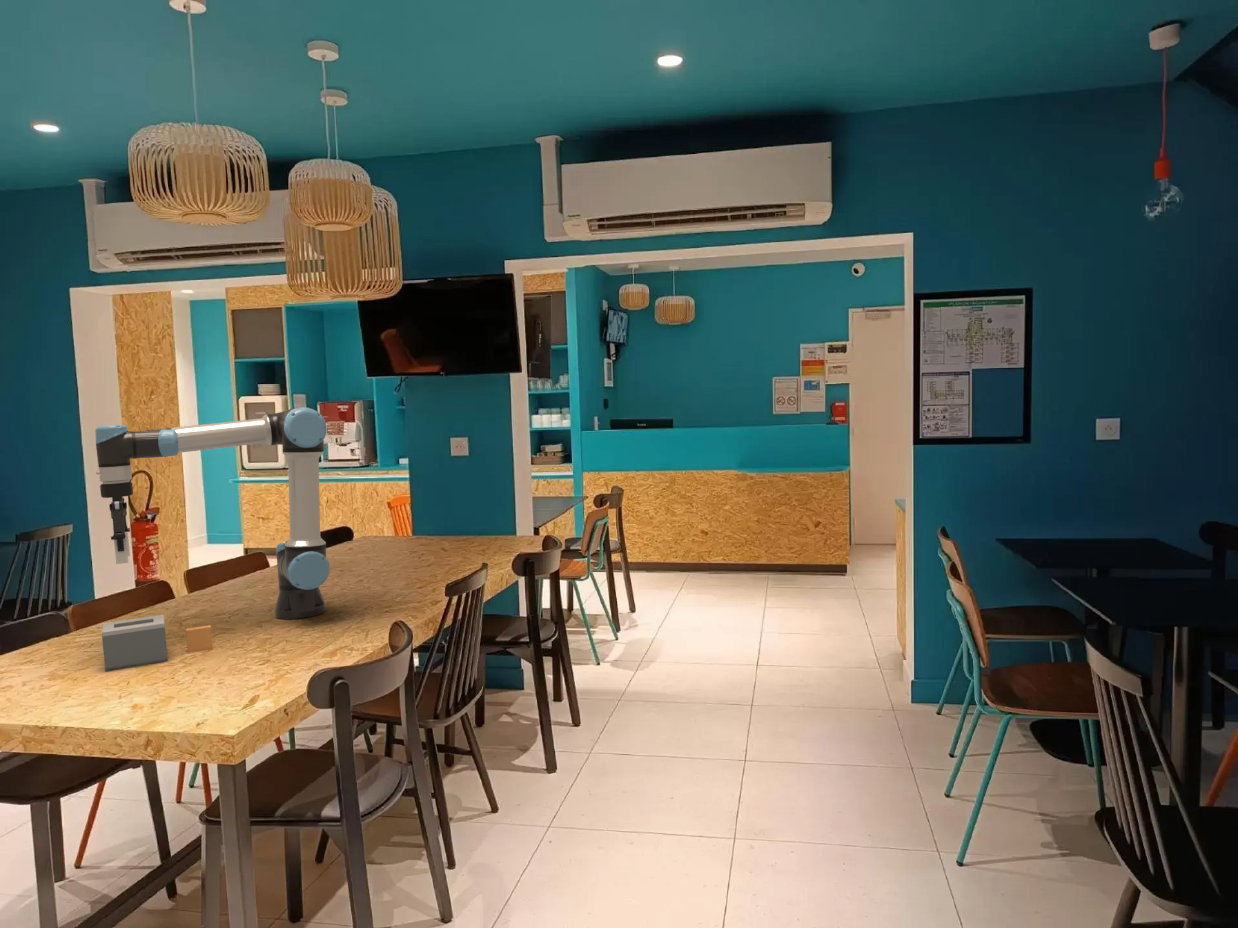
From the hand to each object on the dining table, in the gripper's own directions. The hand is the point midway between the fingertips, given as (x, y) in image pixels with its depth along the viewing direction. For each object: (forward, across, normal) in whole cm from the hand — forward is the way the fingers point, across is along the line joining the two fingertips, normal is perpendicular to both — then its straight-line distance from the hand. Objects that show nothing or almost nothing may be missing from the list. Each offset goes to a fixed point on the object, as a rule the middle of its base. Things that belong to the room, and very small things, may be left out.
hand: (123, 559), depth 231 cm
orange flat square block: (+25, +11, +16) cm, 32 cm away
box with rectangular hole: (+25, +12, +2) cm, 28 cm away
